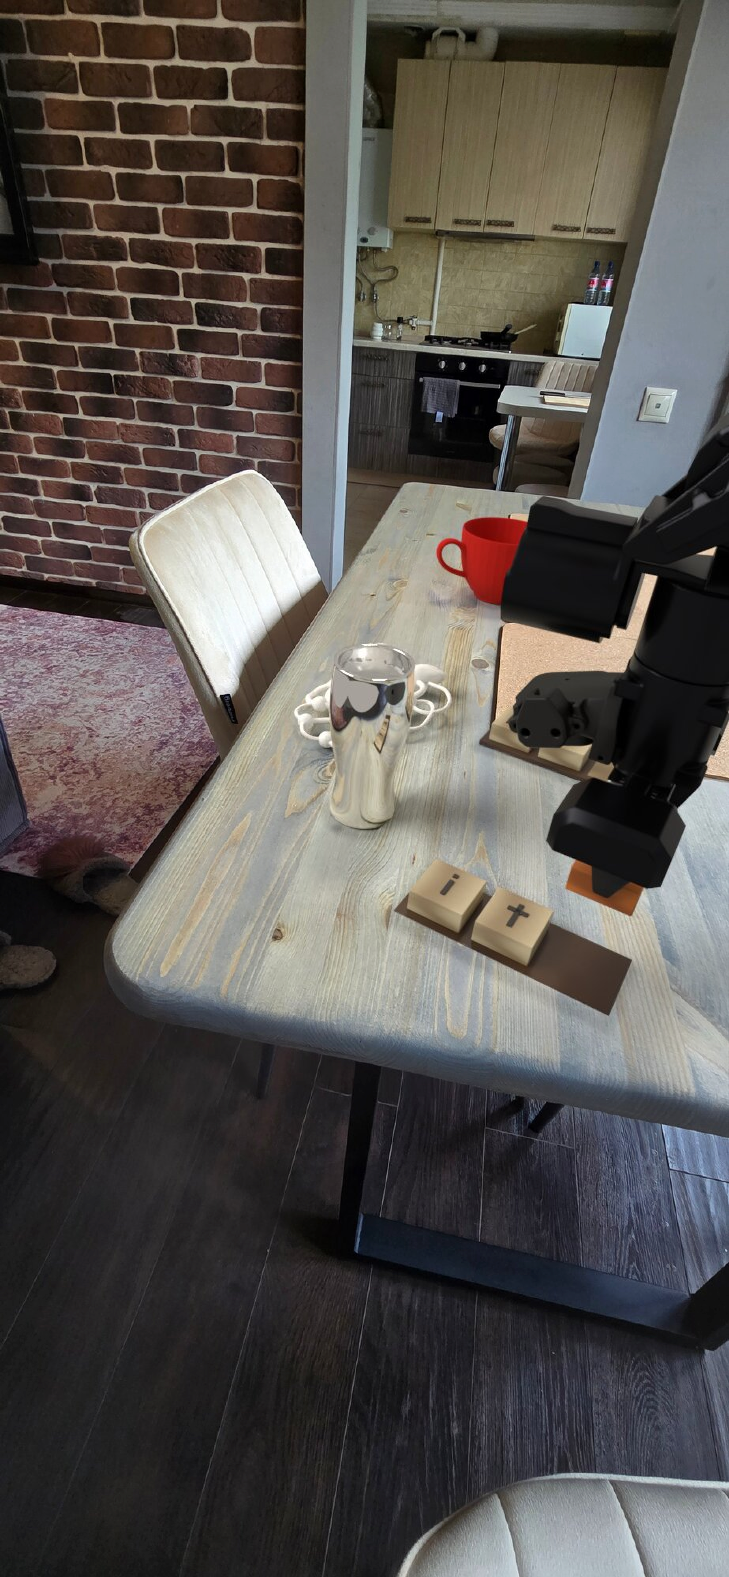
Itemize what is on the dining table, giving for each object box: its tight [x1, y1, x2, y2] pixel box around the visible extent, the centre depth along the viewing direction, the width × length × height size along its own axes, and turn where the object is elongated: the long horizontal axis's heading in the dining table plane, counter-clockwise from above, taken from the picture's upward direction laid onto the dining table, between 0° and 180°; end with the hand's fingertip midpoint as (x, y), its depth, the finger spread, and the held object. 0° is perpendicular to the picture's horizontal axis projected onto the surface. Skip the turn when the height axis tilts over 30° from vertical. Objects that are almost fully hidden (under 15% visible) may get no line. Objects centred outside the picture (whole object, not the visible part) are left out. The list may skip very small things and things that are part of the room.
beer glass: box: [328, 642, 416, 830], centre depth 63 cm, size 7×7×15 cm
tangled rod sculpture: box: [293, 642, 453, 749], centre depth 81 cm, size 19×14×4 cm
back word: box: [478, 706, 614, 782], centre depth 76 cm, size 17×6×3 cm, turn 58°
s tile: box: [564, 859, 645, 917], centre depth 49 cm, size 4×4×2 cm
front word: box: [393, 858, 633, 1017], centre depth 55 cm, size 17×6×3 cm, turn 58°
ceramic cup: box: [435, 516, 527, 605], centre depth 109 cm, size 13×17×10 cm
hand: (611, 873), depth 49 cm, fingers closed on s tile, 4 cm apart
